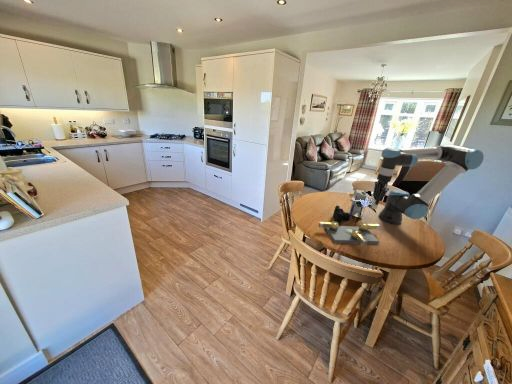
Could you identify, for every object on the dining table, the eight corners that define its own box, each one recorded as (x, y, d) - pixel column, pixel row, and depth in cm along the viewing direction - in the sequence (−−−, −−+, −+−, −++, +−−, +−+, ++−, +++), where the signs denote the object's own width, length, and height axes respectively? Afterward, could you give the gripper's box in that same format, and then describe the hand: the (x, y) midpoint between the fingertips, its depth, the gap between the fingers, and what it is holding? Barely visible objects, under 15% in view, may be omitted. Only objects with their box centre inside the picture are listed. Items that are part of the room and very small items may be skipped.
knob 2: (361, 231, 135) (363, 226, 133) (357, 227, 139) (359, 222, 138) (379, 232, 135) (381, 226, 134) (375, 228, 140) (376, 222, 138)
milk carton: (349, 212, 165) (356, 188, 157) (358, 214, 163) (365, 190, 155) (350, 216, 158) (357, 192, 151) (359, 218, 156) (367, 193, 149)
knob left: (349, 234, 130) (350, 229, 129) (356, 235, 130) (358, 229, 129) (359, 247, 119) (361, 241, 117) (367, 247, 119) (369, 241, 117)
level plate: (364, 229, 142) (365, 225, 141) (378, 243, 127) (379, 239, 126) (324, 228, 140) (325, 224, 139) (334, 242, 125) (335, 238, 124)
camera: (350, 227, 143) (354, 214, 139) (334, 225, 144) (337, 212, 141) (346, 217, 156) (349, 205, 152) (331, 215, 157) (334, 203, 153)
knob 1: (335, 226, 138) (337, 221, 136) (338, 230, 133) (340, 225, 132) (317, 226, 137) (318, 220, 135) (320, 230, 132) (321, 224, 131)
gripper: (374, 170, 134) (364, 203, 143) (384, 177, 122) (372, 212, 131) (386, 171, 134) (375, 204, 143) (397, 178, 122) (384, 213, 131)
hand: (374, 208), depth 137 cm, fingers closed
